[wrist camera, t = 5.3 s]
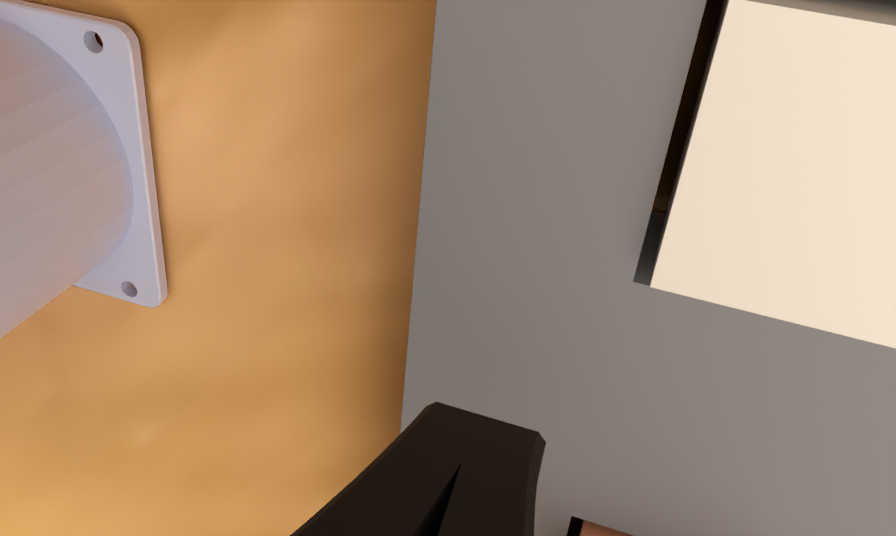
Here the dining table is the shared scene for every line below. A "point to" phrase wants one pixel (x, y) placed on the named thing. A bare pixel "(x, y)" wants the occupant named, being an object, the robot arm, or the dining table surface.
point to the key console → (618, 295)
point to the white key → (792, 169)
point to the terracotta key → (599, 530)
